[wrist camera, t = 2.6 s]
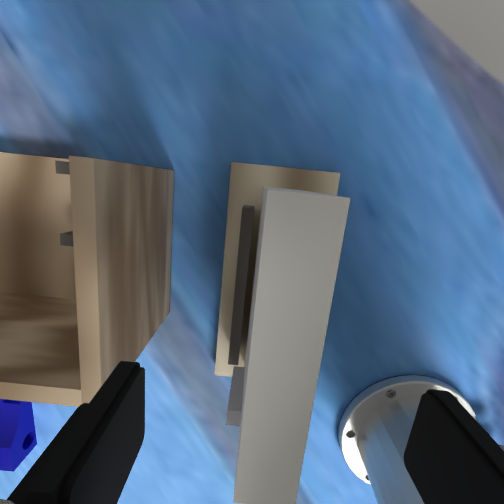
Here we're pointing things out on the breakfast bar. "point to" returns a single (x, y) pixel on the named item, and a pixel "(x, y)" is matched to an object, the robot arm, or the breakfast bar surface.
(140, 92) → the breakfast bar surface
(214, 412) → the breakfast bar surface
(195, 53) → the breakfast bar surface
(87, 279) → the cabinet
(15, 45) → the breakfast bar surface
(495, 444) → the robot arm
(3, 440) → the cable clip
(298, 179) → the door stand
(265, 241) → the door
